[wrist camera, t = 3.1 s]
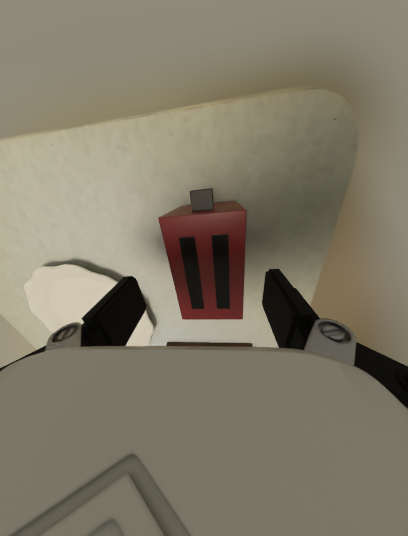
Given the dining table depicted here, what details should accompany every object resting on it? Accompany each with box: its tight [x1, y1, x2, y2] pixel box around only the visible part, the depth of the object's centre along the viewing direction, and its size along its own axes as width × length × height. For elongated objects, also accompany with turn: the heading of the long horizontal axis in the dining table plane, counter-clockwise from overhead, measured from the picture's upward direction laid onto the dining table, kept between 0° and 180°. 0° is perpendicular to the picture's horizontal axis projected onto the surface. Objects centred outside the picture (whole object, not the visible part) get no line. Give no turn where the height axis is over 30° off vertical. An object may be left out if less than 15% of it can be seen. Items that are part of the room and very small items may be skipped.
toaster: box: [159, 189, 247, 319], centre depth 15 cm, size 6×11×7 cm, turn 6°
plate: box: [24, 264, 154, 346], centre depth 25 cm, size 21×21×2 cm
